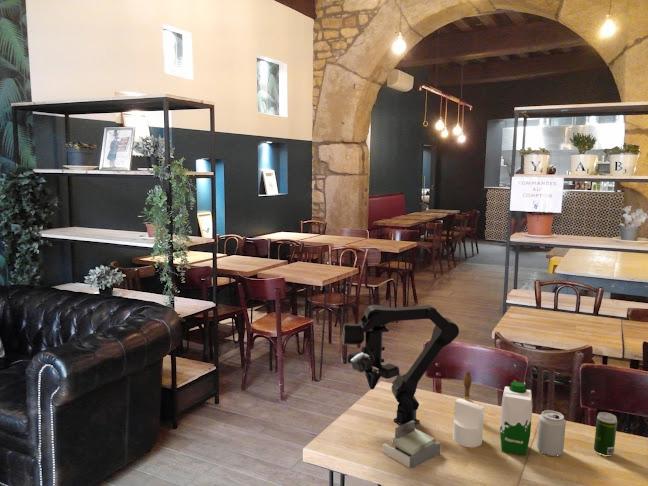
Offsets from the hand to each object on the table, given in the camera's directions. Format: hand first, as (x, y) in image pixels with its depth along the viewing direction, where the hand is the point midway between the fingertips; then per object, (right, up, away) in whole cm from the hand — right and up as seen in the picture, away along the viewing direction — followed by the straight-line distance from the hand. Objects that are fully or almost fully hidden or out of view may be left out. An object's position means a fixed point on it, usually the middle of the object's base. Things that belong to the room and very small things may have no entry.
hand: (372, 389), depth 175 cm
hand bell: (+34, -12, +9) cm, 37 cm away
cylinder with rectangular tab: (+30, -14, -8) cm, 34 cm away
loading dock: (+10, -15, -16) cm, 24 cm away
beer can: (+69, -16, -14) cm, 73 cm away
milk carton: (+43, -15, -12) cm, 47 cm away
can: (+53, -15, -14) cm, 57 cm away
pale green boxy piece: (+11, -13, -17) cm, 24 cm away
